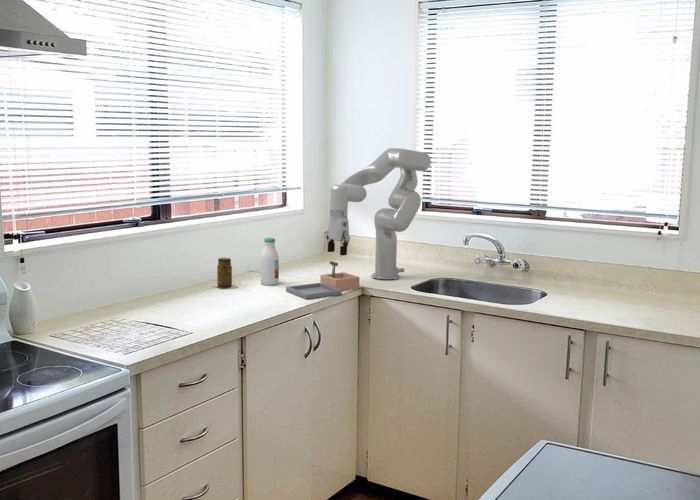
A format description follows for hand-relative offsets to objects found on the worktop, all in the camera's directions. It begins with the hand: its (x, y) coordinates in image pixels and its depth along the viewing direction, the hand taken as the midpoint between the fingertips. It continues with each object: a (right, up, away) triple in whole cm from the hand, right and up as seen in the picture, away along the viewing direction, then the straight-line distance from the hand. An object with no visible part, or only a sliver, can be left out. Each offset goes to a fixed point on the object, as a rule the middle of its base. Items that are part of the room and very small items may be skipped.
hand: (337, 253), depth 328 cm
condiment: (-47, -14, -5) cm, 50 cm away
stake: (-2, -15, -5) cm, 16 cm away
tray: (-10, -16, -15) cm, 24 cm away
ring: (+1, -15, -3) cm, 15 cm away
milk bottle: (-29, -13, +2) cm, 32 cm away
